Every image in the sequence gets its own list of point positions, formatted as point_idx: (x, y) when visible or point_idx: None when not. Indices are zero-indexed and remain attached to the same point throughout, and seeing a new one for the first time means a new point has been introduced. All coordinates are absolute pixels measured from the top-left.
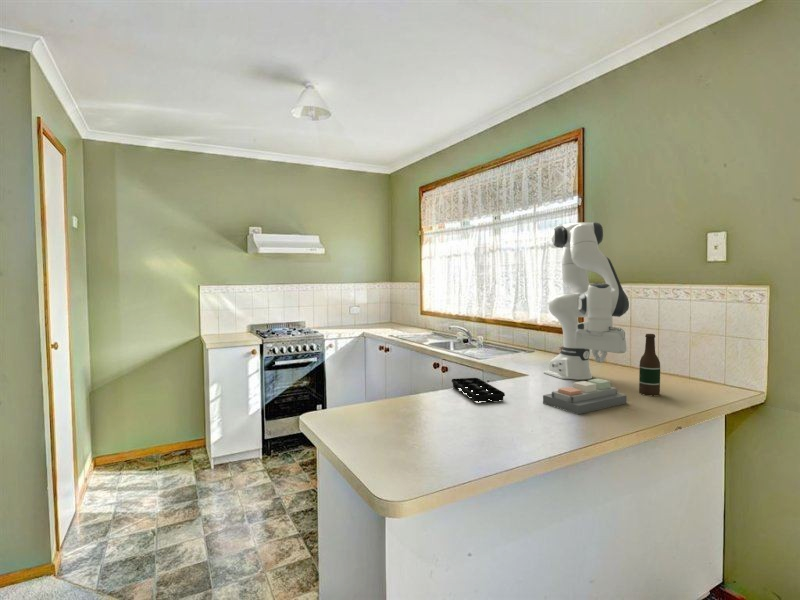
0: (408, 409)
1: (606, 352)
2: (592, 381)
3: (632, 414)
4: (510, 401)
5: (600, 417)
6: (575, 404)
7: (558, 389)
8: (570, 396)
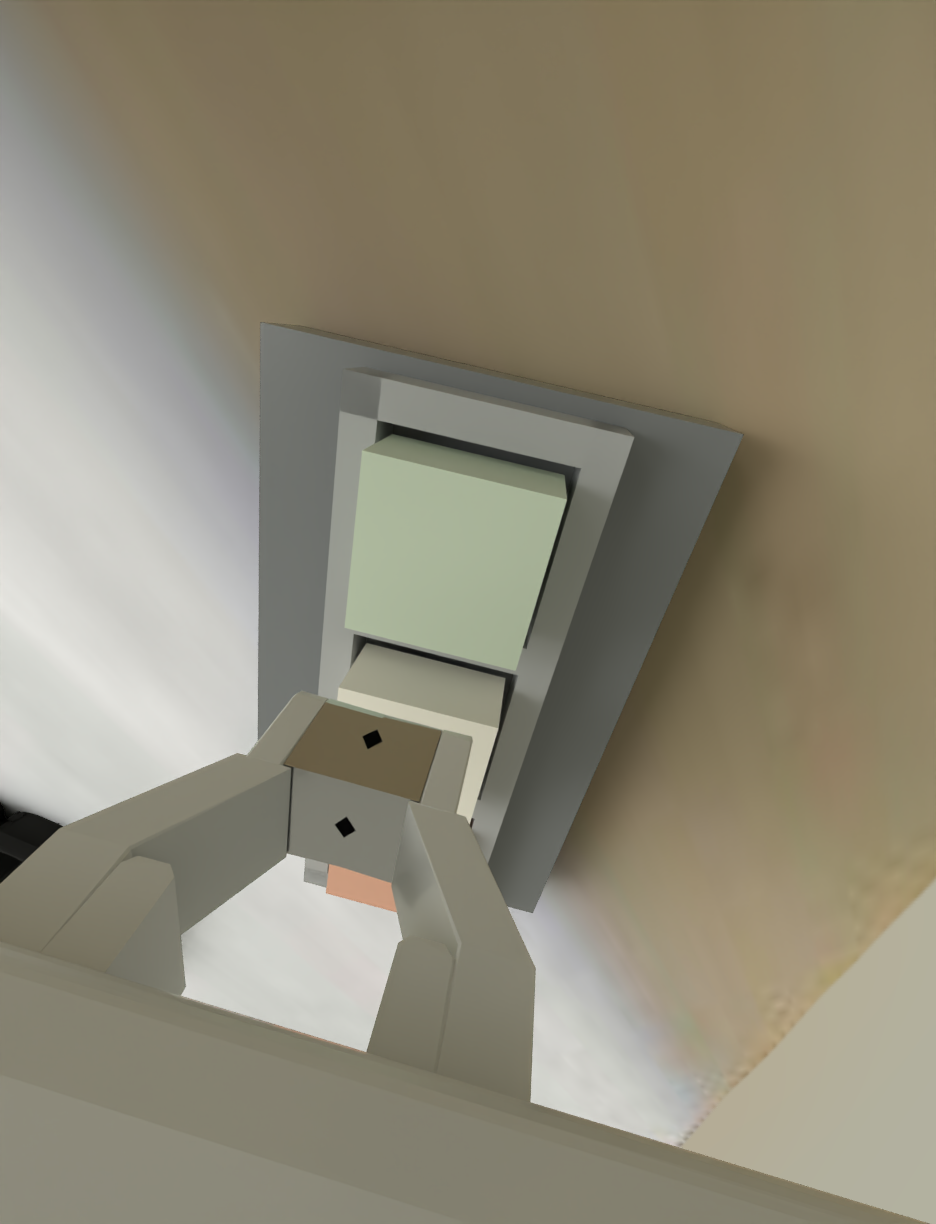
0: None
1: (520, 1057)
2: (408, 643)
3: (822, 704)
4: None
5: (654, 853)
6: (508, 903)
7: (330, 889)
8: None
